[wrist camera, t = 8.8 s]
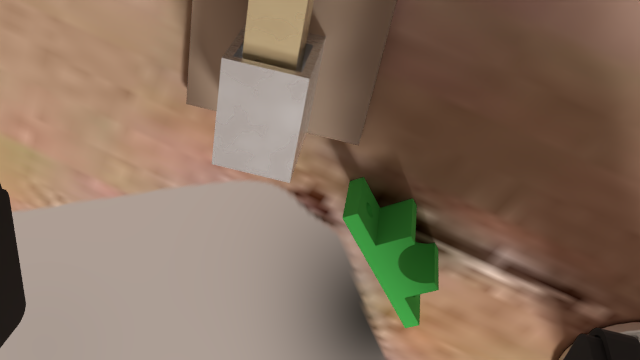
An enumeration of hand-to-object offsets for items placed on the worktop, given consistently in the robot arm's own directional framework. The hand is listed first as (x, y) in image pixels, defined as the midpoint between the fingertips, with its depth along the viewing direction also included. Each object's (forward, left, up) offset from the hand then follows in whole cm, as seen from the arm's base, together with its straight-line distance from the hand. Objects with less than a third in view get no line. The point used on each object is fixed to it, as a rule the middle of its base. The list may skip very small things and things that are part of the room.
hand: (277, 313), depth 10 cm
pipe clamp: (-6, +22, -30) cm, 37 cm away
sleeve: (+5, +11, -28) cm, 30 cm away
